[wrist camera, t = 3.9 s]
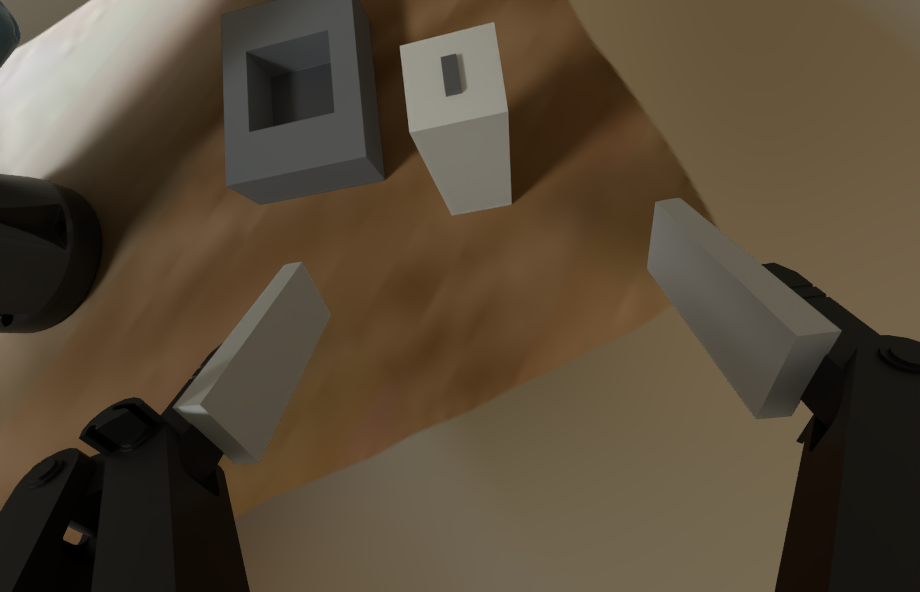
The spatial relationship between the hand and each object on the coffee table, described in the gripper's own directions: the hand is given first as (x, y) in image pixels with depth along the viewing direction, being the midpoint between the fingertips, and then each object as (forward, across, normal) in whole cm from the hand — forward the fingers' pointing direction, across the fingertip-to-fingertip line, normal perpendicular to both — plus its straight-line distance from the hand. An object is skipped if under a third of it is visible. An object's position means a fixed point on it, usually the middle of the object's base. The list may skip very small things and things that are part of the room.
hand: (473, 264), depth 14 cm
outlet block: (+25, -14, +4) cm, 29 cm away
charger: (+18, 0, -3) cm, 18 cm away
